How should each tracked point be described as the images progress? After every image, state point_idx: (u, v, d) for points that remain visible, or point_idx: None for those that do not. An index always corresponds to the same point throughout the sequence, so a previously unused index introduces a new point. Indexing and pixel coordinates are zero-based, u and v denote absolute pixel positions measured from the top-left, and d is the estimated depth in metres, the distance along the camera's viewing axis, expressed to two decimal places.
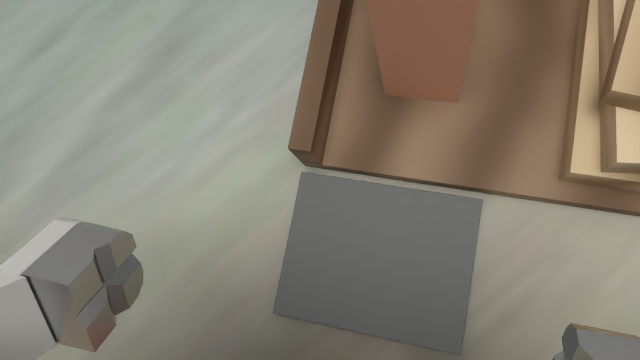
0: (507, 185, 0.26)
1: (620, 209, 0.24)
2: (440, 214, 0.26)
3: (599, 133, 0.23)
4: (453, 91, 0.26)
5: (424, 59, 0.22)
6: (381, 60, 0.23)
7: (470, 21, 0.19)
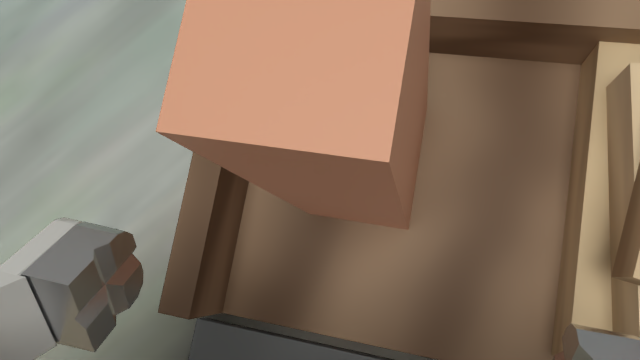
0: (477, 357, 0.18)
1: None
2: None
3: (610, 304, 0.15)
4: (398, 224, 0.18)
5: (342, 205, 0.15)
6: (282, 197, 0.16)
7: (391, 193, 0.11)
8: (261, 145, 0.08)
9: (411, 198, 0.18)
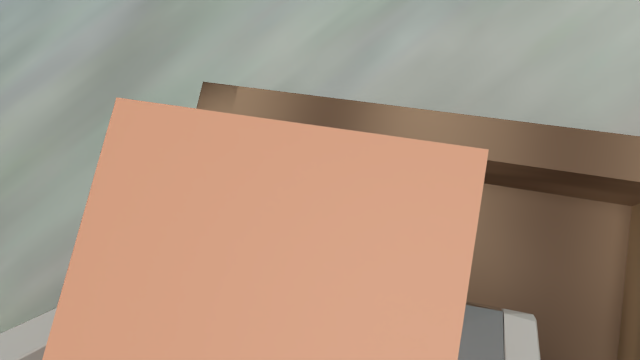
0: None
1: None
2: None
3: None
4: None
5: None
6: None
7: None
8: None
9: None
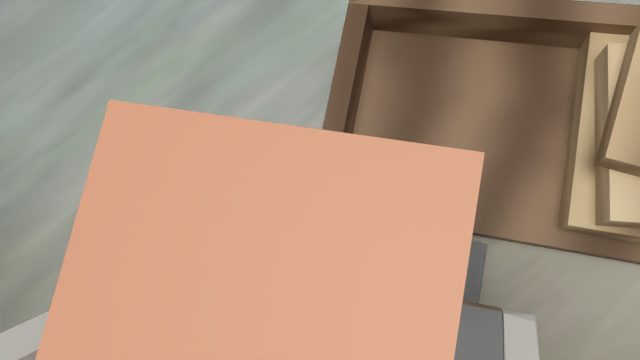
0: (510, 232, 0.28)
1: (613, 257, 0.27)
2: None
3: (594, 189, 0.26)
4: None
5: None
6: None
7: None
8: None
9: None
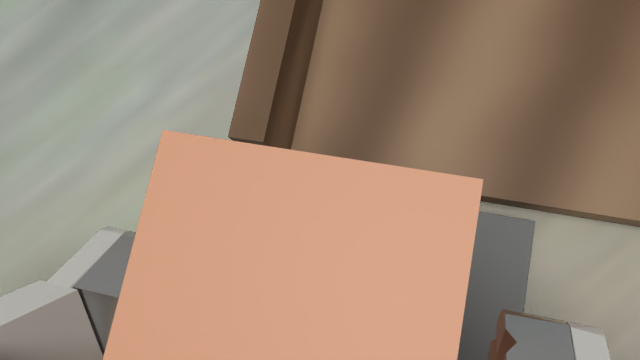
0: (576, 199, 0.16)
1: None
2: None
3: None
4: None
5: None
6: None
7: None
8: None
9: None
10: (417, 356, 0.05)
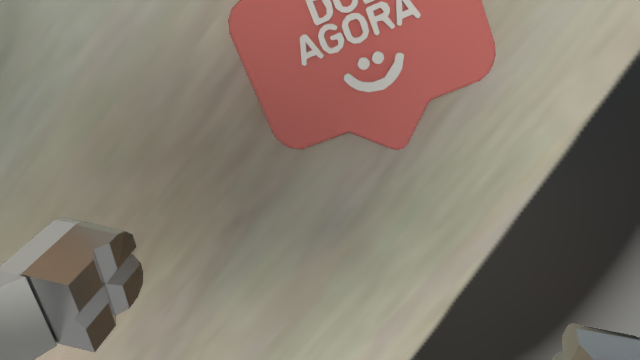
0: None
1: None
2: None
3: None
4: None
5: None
6: None
7: None
8: None
9: None
10: None
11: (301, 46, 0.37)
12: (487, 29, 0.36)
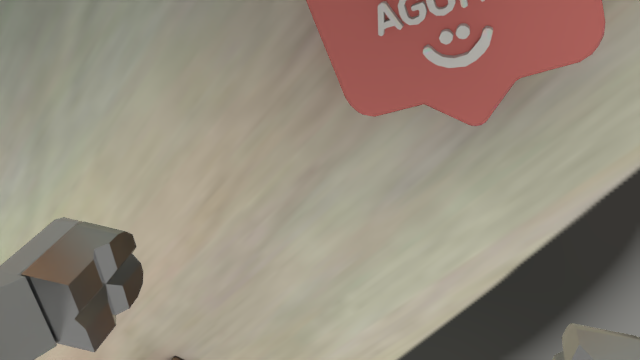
0: None
1: None
2: None
3: None
4: None
5: None
6: None
7: None
8: None
9: None
10: None
11: (379, 15, 0.34)
12: (599, 5, 0.30)
